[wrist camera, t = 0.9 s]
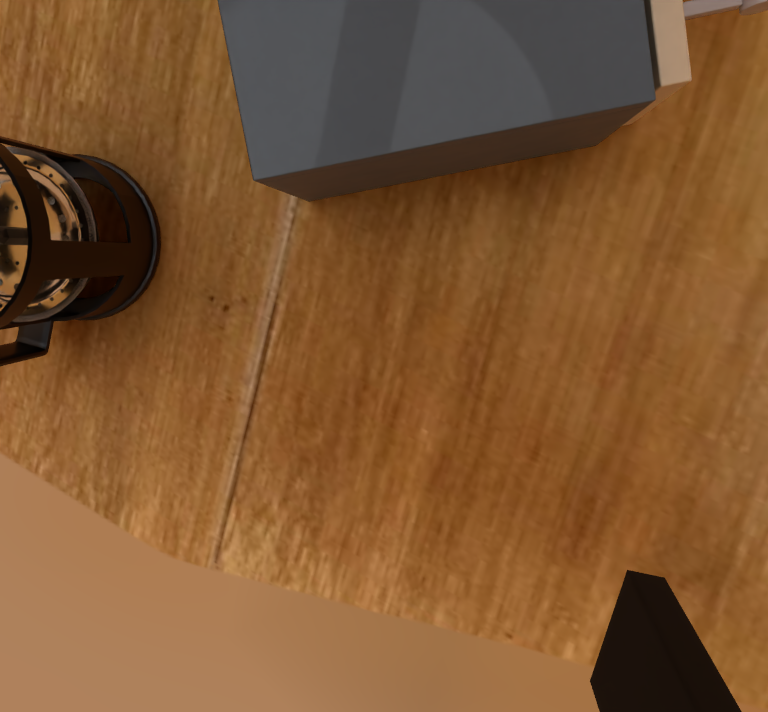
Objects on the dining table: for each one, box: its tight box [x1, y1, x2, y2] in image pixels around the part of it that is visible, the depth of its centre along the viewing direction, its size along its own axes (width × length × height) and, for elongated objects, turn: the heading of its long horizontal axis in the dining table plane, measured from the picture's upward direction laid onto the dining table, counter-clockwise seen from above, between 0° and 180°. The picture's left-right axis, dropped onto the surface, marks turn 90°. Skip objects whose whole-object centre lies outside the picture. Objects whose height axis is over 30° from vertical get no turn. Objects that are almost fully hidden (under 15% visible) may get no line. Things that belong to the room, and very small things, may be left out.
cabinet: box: [218, 0, 656, 201], centre depth 31 cm, size 16×14×11 cm
